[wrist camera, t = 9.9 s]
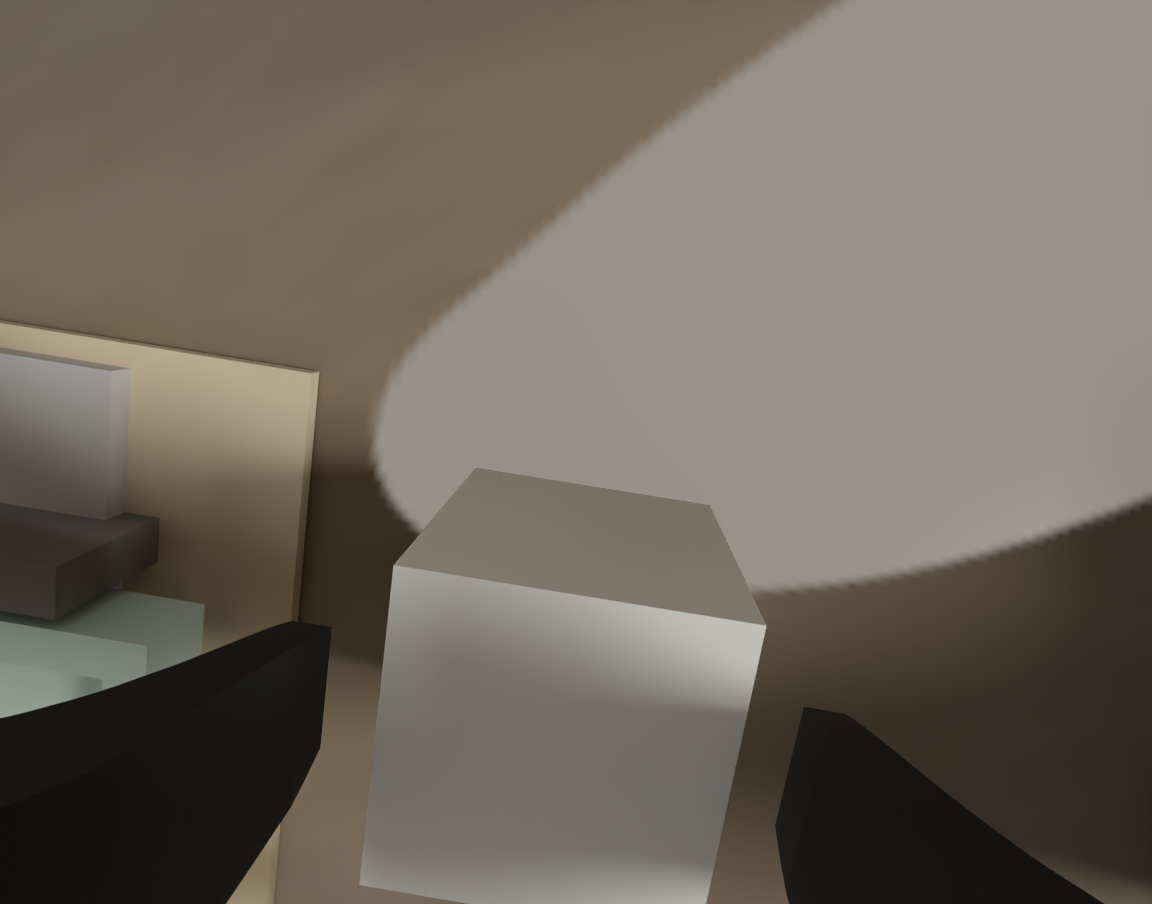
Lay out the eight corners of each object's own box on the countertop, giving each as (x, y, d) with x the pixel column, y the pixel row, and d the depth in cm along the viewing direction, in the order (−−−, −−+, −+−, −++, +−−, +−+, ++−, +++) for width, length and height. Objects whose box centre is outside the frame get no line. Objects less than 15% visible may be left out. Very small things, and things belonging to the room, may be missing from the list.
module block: (668, 718, 17) (697, 942, 11) (449, 681, 17) (359, 884, 11) (709, 505, 16) (766, 625, 10) (476, 468, 16) (393, 565, 10)
